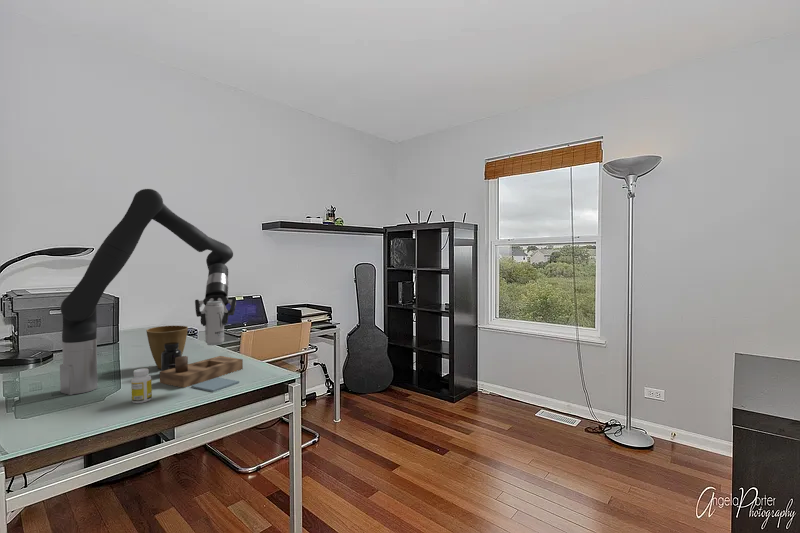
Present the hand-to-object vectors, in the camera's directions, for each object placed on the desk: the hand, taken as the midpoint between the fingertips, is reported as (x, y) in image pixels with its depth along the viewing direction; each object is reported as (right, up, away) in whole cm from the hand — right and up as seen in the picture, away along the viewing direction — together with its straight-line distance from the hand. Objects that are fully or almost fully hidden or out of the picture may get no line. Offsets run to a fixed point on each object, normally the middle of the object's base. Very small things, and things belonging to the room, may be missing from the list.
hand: (214, 324), depth 143 cm
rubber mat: (0, -22, +2) cm, 22 cm away
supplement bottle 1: (-17, -23, -13) cm, 31 cm away
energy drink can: (-1, -7, +2) cm, 8 cm away
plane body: (-10, -22, +14) cm, 28 cm away
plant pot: (-31, -22, +26) cm, 46 cm away
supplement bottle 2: (-24, -22, +16) cm, 36 cm away
